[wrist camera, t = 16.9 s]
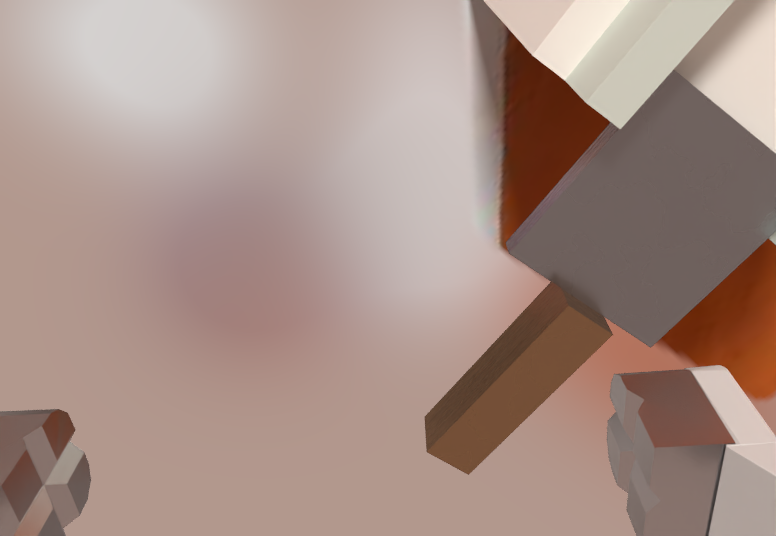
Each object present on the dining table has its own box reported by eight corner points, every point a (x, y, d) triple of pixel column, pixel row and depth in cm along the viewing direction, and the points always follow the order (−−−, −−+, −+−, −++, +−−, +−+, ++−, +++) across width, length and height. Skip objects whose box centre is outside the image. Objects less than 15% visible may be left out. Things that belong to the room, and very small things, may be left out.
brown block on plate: (662, 62, 25) (687, 77, 23) (806, 180, 27) (840, 204, 25) (377, 390, 32) (375, 424, 30) (507, 463, 34) (515, 499, 32)
